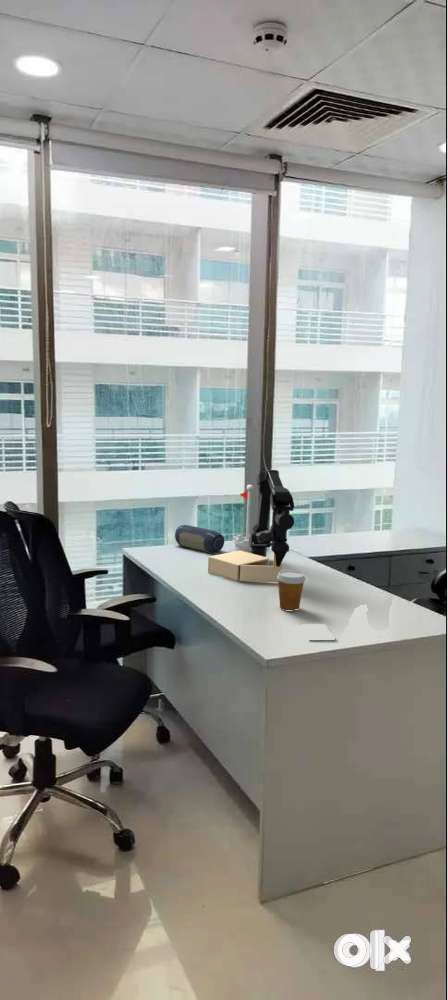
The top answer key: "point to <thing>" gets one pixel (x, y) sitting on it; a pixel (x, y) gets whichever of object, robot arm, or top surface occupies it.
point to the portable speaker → (199, 538)
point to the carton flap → (260, 572)
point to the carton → (233, 563)
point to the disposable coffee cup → (290, 589)
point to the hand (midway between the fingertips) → (277, 564)
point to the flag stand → (240, 541)
